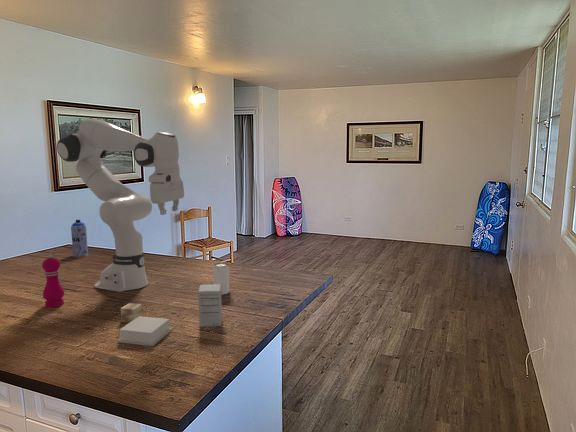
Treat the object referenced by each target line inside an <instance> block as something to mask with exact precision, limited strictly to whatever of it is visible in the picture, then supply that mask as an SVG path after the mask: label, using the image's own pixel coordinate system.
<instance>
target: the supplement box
mask: <svg viewBox="0 0 576 432" xmlns="http://www.w3.org/2000/svg"><path fill="white" fill-rule="evenodd" d="M197 294H198V298H197V299H198V316H199V317H198V320H199V327H201V328H202V327H205V328H206V327H221V326H222V322H223V321H222V319H223V312H222V311H223V310H222V295H221V284H214V283H213V284H210V283H209V284H200V285H199V289H198V293H197Z"/></svg>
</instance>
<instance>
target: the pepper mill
mask: <svg viewBox="0 0 576 432" xmlns="http://www.w3.org/2000/svg"><path fill="white" fill-rule="evenodd" d="M41 264H42V265H41V267H42V269H43V270H44V271H43V273H44V276H45V278H46V283H45V287H44V289H43V293H42V296H43V297H42V298H43V299H44V300H45V302H44V303H45V304H44V306H45V308H49V309H50V308H53V309H54V308H58V307H61V306H64V303H65V302H64V298H63V297H64V295H65V290H64V287H63V285H62V284H61V282H60V280H59V274H60V267H61V261H60V260H59V259H58V258H56V257H54V255H53V254H51V253H49V254H48V255H47V258H46V259H44V260H43V262H42V263H41Z"/></svg>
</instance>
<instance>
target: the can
mask: <svg viewBox="0 0 576 432" xmlns="http://www.w3.org/2000/svg"><path fill="white" fill-rule="evenodd" d="M212 275H213V276H212V277H213V278H212V279H213V284H221V296H224V295H228V294H229V293H230V267H229V266H228V263H226V262H219V263H218V262H217V263H214V265H213V269H212Z"/></svg>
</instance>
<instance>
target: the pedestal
mask: <svg viewBox="0 0 576 432" xmlns="http://www.w3.org/2000/svg"><path fill="white" fill-rule="evenodd" d="M172 331H173V329H172V327H171V326H170V319H169V318H161V317H160V318H159V317H149V316H143V315H142V316H139V317H137V318H136V319H134V320H133V321H131V322H130V323H129V322H127V324H125V325H124V326H122V327H121V328H120V329H119V338H118V339H117V343H123V344H130V345H131V344H132V345H138V346H139V345H140V346H147V347H153V346H155V345H156V344H157V343H158V342H161V340H162V339H164V337H166V336H167V335H168V334H170V332H172Z"/></svg>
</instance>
